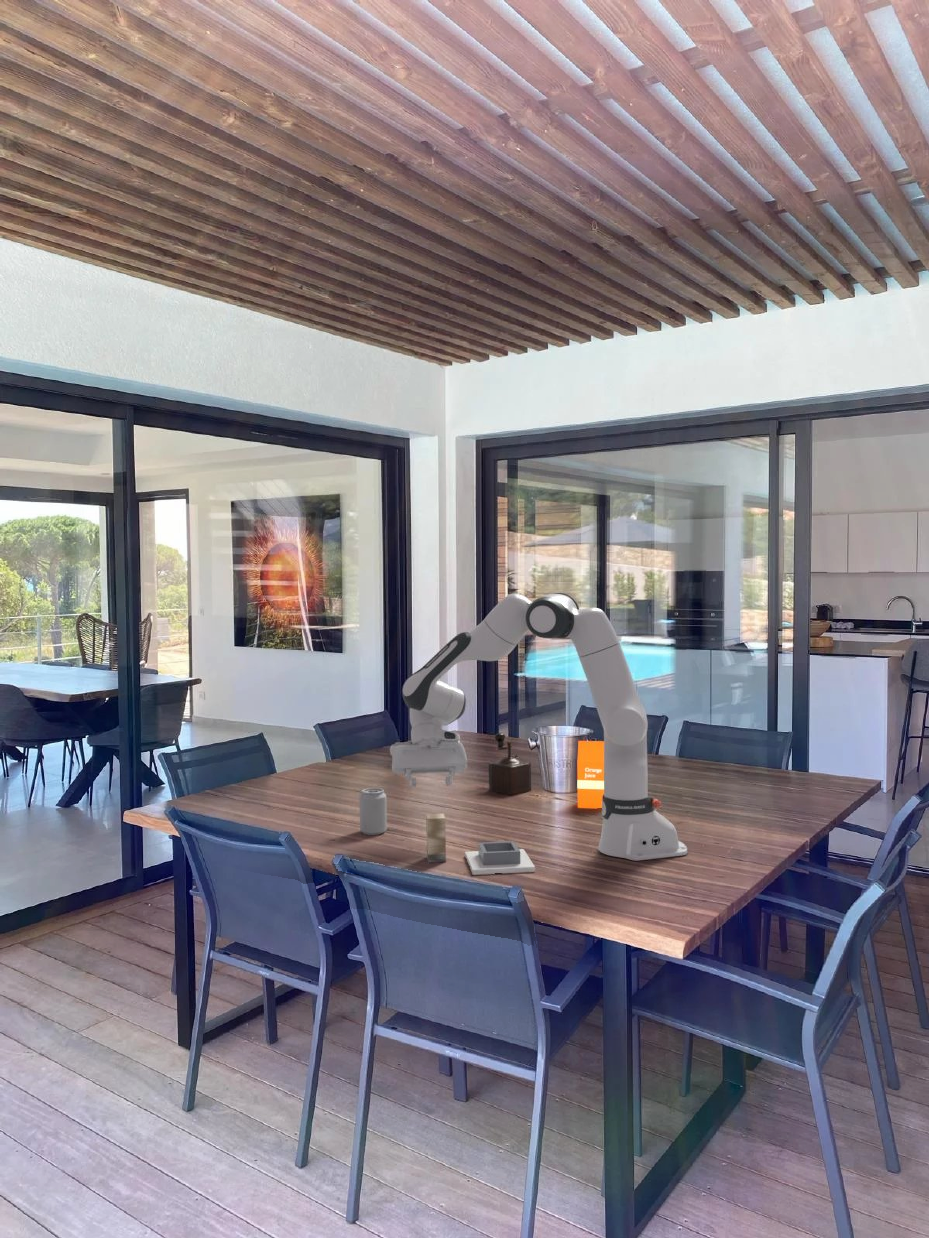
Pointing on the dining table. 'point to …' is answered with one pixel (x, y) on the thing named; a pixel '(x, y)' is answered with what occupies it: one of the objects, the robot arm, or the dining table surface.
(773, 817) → the dining table surface
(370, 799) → the can
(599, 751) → the orange juice
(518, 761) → the manual coffee grinder
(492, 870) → the dock
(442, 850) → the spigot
